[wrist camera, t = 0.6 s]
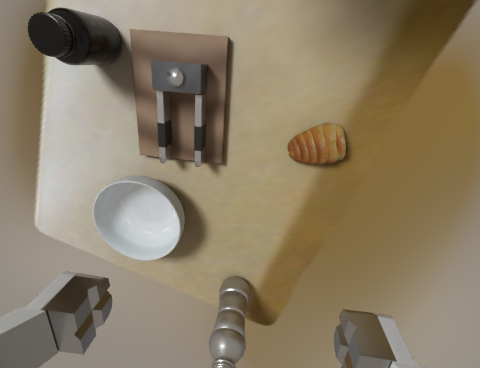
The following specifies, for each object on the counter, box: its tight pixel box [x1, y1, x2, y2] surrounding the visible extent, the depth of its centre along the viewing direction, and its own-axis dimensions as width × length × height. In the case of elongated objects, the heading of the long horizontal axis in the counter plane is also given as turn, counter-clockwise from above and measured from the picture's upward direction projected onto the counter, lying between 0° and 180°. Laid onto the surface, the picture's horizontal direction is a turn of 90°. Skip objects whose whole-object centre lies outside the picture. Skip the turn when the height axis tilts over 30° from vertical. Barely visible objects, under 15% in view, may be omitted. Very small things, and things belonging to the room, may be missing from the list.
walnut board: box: [130, 29, 229, 164], centre depth 45 cm, size 20×15×2 cm
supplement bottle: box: [28, 8, 121, 65], centre depth 38 cm, size 7×7×12 cm
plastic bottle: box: [209, 277, 250, 368], centre depth 52 cm, size 6×7×20 cm
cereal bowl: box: [93, 176, 185, 261], centre depth 52 cm, size 17×17×7 cm
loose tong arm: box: [194, 93, 206, 167], centre depth 44 cm, size 12×1×3 cm, turn 175°
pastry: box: [288, 123, 346, 165], centre depth 45 cm, size 9×7×4 cm
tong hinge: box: [151, 60, 208, 94], centre depth 40 cm, size 4×7×5 cm, turn 85°
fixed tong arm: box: [156, 91, 172, 163], centre depth 44 cm, size 12×1×3 cm, turn 175°
